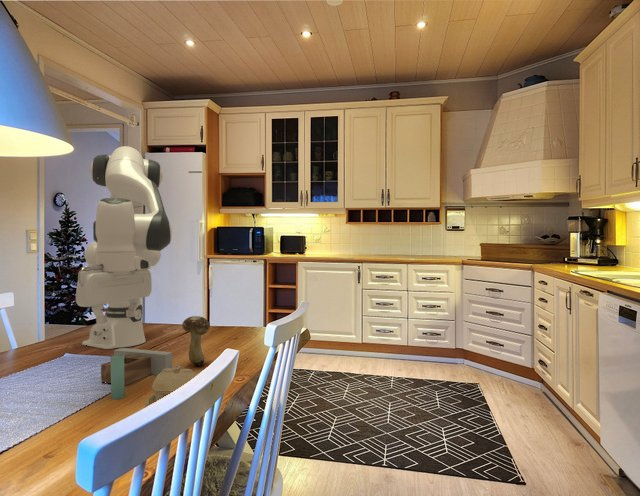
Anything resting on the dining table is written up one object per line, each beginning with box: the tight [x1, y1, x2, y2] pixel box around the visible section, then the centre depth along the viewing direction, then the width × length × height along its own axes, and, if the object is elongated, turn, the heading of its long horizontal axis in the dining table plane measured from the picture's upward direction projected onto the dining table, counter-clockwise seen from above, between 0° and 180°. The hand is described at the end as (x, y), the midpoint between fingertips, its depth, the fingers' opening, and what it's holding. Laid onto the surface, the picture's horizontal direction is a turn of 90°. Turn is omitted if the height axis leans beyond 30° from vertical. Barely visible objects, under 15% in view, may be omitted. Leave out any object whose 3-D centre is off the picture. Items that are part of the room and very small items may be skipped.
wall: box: [113, 347, 173, 376], centre depth 122 cm, size 18×3×6 cm, turn 73°
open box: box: [100, 355, 152, 386], centre depth 116 cm, size 8×10×5 cm
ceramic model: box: [144, 364, 198, 407], centre depth 96 cm, size 14×11×10 cm
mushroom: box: [181, 315, 211, 367], centre depth 128 cm, size 9×9×15 cm
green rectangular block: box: [110, 355, 126, 400], centre depth 102 cm, size 3×3×10 cm
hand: (116, 319), depth 102 cm, fingers open, 8 cm apart
